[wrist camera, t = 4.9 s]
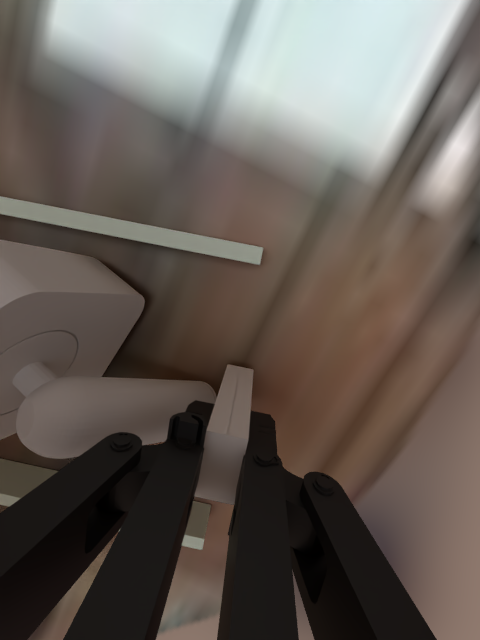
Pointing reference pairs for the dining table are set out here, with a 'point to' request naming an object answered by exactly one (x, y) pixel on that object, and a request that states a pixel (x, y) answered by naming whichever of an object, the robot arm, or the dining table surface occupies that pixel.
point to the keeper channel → (18, 478)
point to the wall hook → (74, 356)
